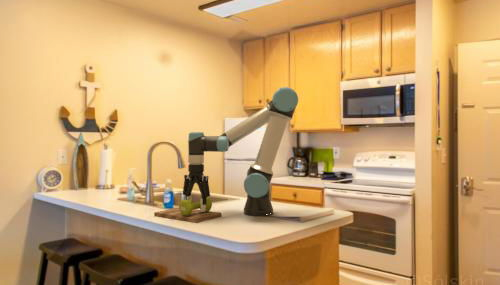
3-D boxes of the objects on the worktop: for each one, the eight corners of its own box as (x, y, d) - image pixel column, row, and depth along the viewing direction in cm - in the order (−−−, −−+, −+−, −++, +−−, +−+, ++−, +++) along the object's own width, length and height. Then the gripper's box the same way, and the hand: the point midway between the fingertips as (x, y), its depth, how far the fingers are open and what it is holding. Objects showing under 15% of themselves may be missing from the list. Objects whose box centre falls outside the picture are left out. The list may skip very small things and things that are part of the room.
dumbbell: (187, 216, 171) (188, 201, 171) (177, 214, 176) (177, 199, 176) (213, 211, 183) (213, 197, 183) (202, 209, 188) (203, 195, 188)
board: (221, 216, 182) (221, 212, 182) (196, 222, 167) (196, 218, 167) (180, 210, 198) (180, 207, 198) (154, 216, 183) (154, 212, 183)
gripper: (217, 164, 177) (217, 211, 177) (185, 162, 188) (185, 207, 188) (207, 164, 171) (207, 213, 171) (175, 163, 182) (174, 209, 182)
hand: (196, 210), depth 179 cm, fingers closed on dumbbell, 8 cm apart
